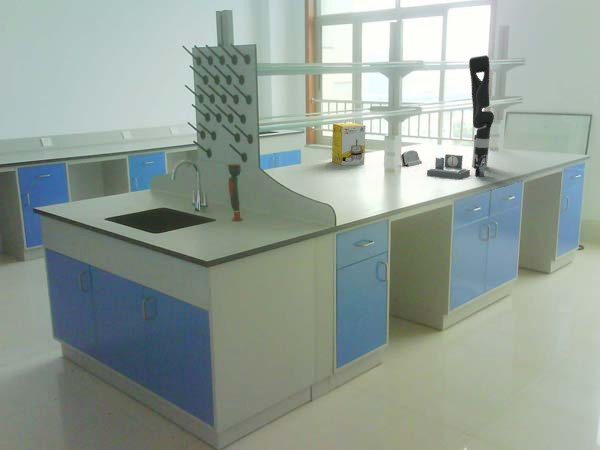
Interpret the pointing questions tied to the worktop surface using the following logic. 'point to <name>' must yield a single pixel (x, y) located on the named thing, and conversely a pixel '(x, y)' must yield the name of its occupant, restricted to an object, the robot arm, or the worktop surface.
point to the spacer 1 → (439, 163)
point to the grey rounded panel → (410, 158)
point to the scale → (450, 168)
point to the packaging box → (348, 144)
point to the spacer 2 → (481, 171)
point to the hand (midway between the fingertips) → (479, 174)
